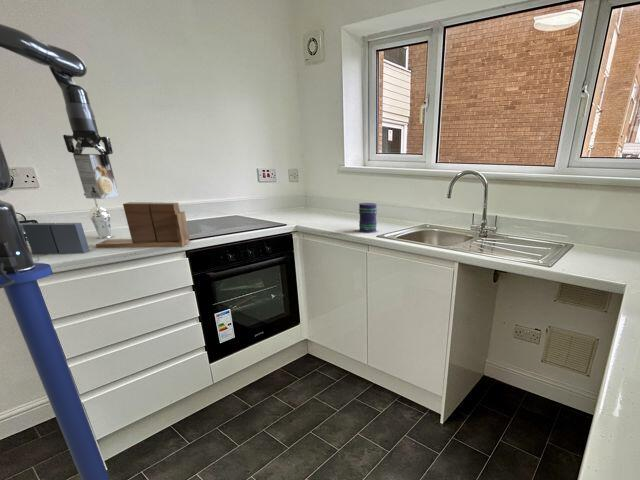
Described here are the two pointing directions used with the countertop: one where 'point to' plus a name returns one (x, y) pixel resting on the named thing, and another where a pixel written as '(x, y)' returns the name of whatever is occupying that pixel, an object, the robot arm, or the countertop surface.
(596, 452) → the countertop surface
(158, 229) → the box
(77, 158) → the coffee box
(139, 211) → the box
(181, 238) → the wooden rack
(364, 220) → the storage jar
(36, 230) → the grey book
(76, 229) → the grey book
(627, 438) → the countertop surface
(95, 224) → the cup with straw
